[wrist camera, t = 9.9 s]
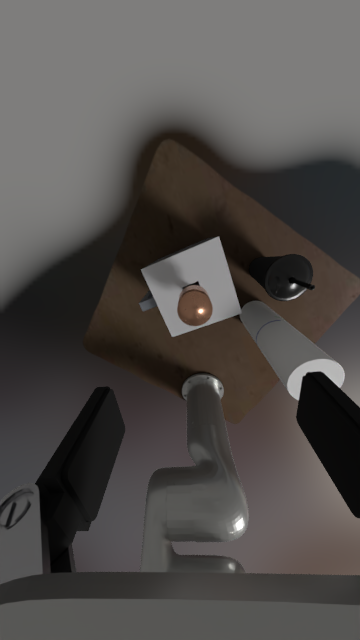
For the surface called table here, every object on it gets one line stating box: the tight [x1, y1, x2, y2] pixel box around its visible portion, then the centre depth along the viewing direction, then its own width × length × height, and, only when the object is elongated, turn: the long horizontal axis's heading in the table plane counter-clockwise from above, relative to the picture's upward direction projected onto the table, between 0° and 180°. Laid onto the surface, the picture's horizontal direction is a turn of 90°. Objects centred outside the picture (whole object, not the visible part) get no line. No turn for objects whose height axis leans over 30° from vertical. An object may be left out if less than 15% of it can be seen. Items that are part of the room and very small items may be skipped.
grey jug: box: [139, 236, 242, 337], centre depth 37 cm, size 16×12×17 cm
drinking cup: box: [249, 254, 315, 301], centre depth 34 cm, size 8×8×20 cm
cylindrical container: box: [240, 301, 345, 400], centre depth 36 cm, size 7×7×25 cm
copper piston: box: [177, 281, 213, 326], centre depth 32 cm, size 9×9×23 cm
